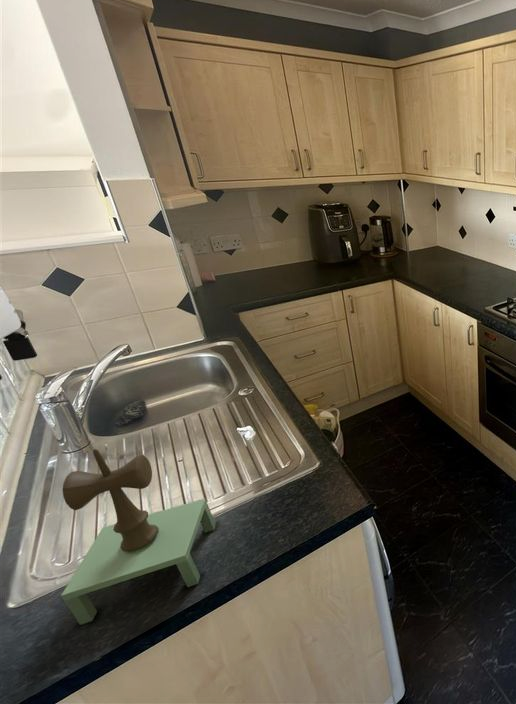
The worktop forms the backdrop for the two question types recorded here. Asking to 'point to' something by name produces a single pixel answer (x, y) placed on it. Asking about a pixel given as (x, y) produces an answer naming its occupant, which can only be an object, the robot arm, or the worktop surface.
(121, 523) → the kendama
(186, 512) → the spice shelf
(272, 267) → the worktop surface
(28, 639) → the worktop surface
